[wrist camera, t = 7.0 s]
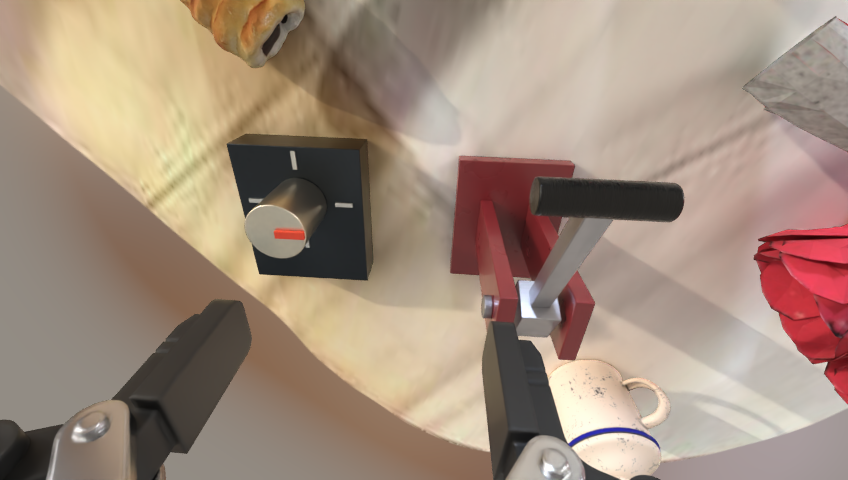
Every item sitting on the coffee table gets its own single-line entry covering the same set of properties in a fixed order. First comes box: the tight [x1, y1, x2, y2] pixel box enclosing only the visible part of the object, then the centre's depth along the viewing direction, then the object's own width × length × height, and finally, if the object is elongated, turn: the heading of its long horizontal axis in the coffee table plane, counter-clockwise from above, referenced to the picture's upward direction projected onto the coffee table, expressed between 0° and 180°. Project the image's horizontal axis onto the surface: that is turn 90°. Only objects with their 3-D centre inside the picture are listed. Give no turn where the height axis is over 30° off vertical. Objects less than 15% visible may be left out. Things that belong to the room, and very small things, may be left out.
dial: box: [245, 178, 327, 258], centre depth 26 cm, size 4×4×5 cm
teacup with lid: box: [548, 360, 670, 480], centre depth 36 cm, size 12×9×12 cm
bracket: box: [450, 156, 595, 360], centre depth 26 cm, size 11×9×14 cm
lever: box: [514, 176, 684, 337], centre depth 18 cm, size 12×5×2 cm, turn 178°
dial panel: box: [227, 134, 373, 280], centre depth 31 cm, size 12×10×3 cm
